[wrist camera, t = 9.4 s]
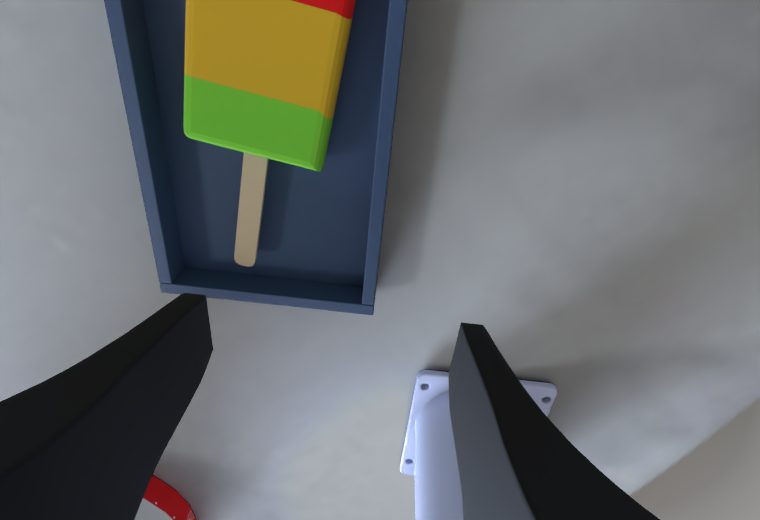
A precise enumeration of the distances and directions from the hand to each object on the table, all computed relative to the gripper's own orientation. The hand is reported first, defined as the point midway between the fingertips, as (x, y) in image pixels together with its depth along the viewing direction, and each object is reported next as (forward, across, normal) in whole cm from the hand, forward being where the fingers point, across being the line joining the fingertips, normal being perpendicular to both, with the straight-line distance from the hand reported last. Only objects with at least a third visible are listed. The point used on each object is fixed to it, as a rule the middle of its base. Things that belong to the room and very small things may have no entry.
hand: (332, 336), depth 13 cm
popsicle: (+9, +4, -4) cm, 11 cm away
